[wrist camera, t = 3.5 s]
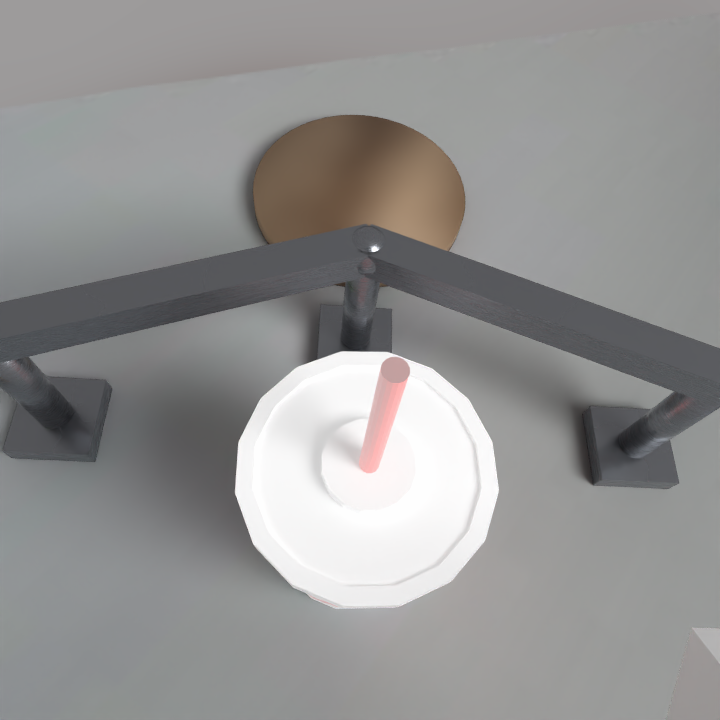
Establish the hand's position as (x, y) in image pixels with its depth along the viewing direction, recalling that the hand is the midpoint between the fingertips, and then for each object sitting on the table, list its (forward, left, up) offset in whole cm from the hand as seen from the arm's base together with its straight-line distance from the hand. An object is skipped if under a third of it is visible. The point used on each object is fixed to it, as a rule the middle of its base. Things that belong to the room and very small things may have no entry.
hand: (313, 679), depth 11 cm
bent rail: (-1, -10, -11) cm, 15 cm away
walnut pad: (-1, -20, -11) cm, 23 cm away
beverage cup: (-1, -4, -11) cm, 12 cm away
